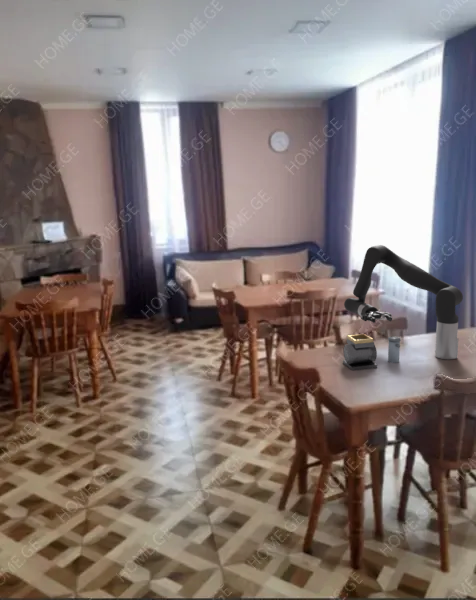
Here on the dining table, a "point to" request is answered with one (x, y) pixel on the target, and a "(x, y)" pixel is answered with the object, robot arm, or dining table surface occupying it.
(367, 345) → the motor
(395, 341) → the pump
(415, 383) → the dining table surface
